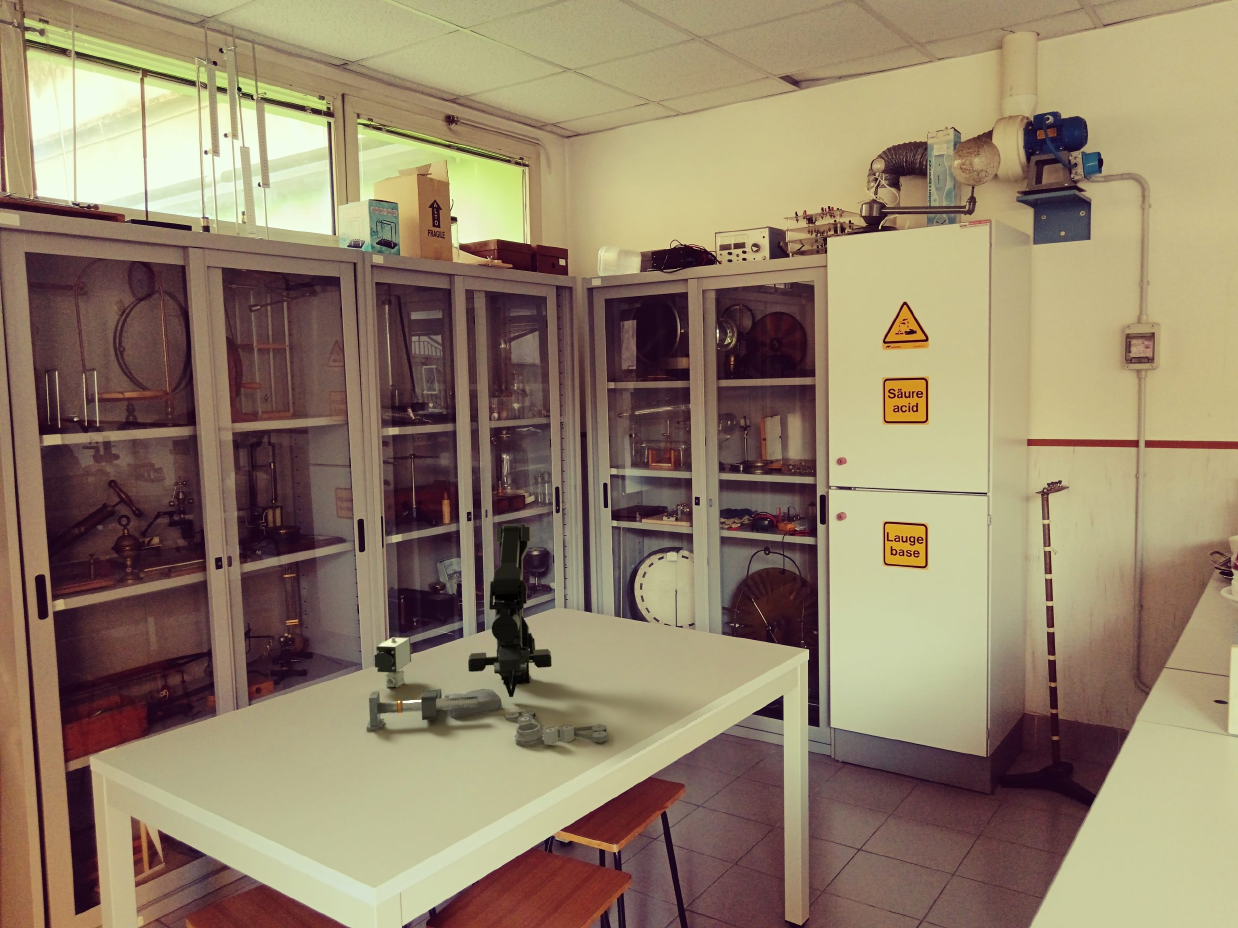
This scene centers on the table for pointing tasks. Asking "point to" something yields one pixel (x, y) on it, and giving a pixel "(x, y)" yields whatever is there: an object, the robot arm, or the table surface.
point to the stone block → (486, 703)
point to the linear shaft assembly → (411, 707)
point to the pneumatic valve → (393, 659)
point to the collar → (430, 704)
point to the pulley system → (550, 731)
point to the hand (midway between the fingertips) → (511, 696)
